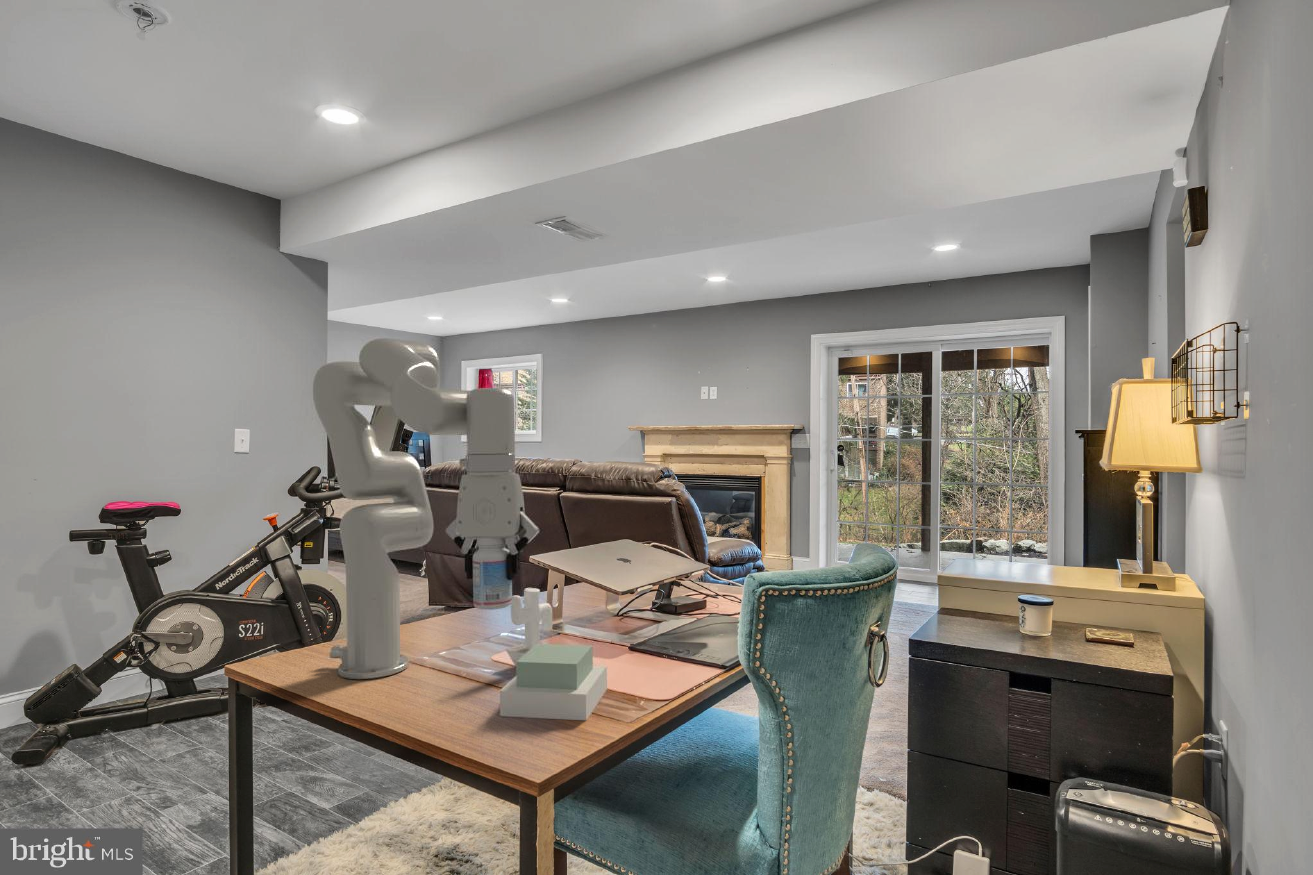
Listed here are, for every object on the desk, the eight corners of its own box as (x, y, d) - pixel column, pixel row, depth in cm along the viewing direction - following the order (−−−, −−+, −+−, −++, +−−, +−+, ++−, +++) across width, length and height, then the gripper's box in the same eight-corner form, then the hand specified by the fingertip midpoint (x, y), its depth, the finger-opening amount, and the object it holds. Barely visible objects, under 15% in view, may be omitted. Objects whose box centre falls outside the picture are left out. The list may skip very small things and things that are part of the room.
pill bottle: (518, 602, 114) (517, 533, 114) (501, 611, 108) (500, 538, 108) (484, 601, 116) (484, 532, 116) (465, 609, 110) (465, 537, 110)
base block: (500, 715, 110) (499, 690, 111) (530, 685, 124) (529, 662, 124) (586, 720, 108) (586, 694, 108) (607, 688, 122) (606, 665, 122)
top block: (516, 686, 112) (516, 661, 112) (536, 666, 122) (536, 643, 122) (577, 689, 111) (576, 663, 111) (592, 669, 120) (592, 645, 120)
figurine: (563, 663, 136) (562, 586, 136) (526, 677, 129) (525, 595, 129) (537, 657, 141) (537, 582, 141) (500, 669, 133) (500, 590, 133)
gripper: (429, 467, 110) (431, 581, 110) (534, 466, 107) (535, 584, 107) (452, 465, 118) (453, 572, 117) (550, 464, 114) (552, 574, 114)
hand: (492, 576), depth 112 cm, fingers closed on pill bottle, 6 cm apart
